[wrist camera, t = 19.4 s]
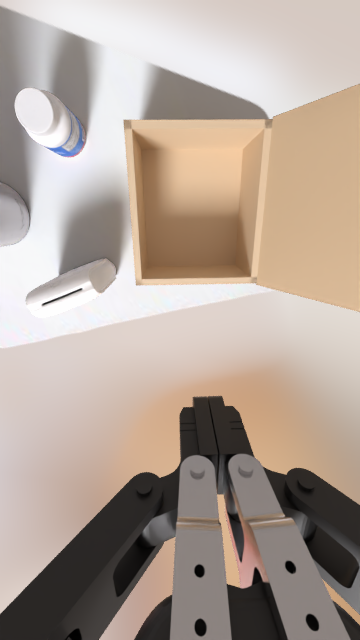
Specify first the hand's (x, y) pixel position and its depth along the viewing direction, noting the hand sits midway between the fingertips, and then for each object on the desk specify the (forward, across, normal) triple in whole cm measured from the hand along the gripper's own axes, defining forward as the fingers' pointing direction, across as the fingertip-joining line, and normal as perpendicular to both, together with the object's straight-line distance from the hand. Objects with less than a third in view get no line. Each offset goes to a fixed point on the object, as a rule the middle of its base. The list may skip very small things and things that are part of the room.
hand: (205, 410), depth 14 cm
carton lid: (+16, -14, -10) cm, 23 cm away
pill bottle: (+33, +16, -20) cm, 42 cm away
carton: (+33, -2, -10) cm, 35 cm away
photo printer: (+33, +16, 0) cm, 37 cm away
